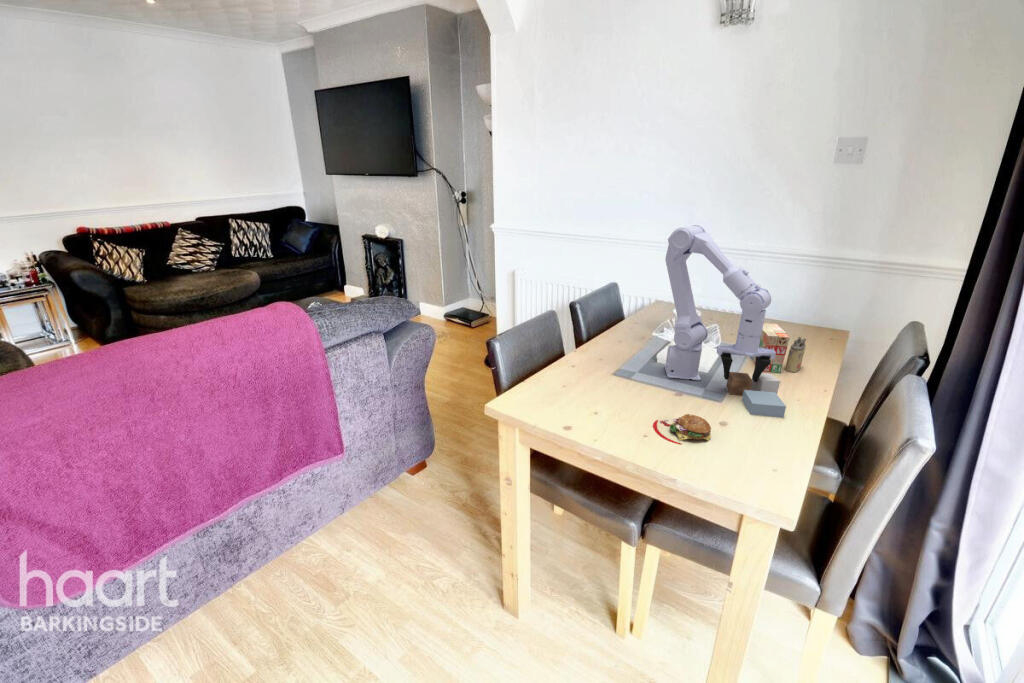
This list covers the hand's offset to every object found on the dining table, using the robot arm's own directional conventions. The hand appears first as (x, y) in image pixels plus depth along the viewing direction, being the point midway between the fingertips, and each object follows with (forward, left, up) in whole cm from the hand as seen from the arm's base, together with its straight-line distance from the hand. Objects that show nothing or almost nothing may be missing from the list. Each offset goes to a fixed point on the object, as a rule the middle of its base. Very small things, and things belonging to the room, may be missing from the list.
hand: (740, 379), depth 134 cm
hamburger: (-18, -25, -5) cm, 31 cm away
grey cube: (+7, +1, -4) cm, 8 cm away
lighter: (+21, +21, -4) cm, 31 cm away
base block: (+4, -9, -4) cm, 11 cm away
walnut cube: (0, 0, -4) cm, 4 cm away
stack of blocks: (+14, +27, -4) cm, 31 cm away
